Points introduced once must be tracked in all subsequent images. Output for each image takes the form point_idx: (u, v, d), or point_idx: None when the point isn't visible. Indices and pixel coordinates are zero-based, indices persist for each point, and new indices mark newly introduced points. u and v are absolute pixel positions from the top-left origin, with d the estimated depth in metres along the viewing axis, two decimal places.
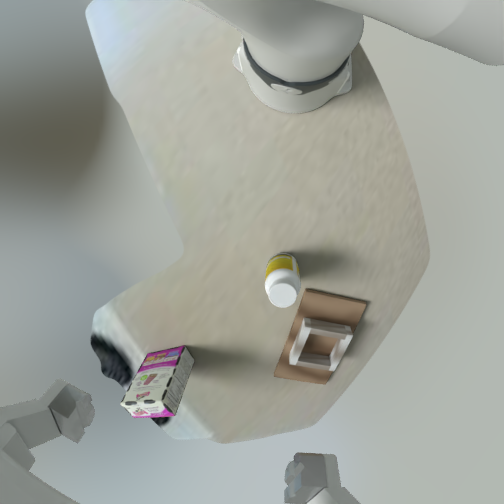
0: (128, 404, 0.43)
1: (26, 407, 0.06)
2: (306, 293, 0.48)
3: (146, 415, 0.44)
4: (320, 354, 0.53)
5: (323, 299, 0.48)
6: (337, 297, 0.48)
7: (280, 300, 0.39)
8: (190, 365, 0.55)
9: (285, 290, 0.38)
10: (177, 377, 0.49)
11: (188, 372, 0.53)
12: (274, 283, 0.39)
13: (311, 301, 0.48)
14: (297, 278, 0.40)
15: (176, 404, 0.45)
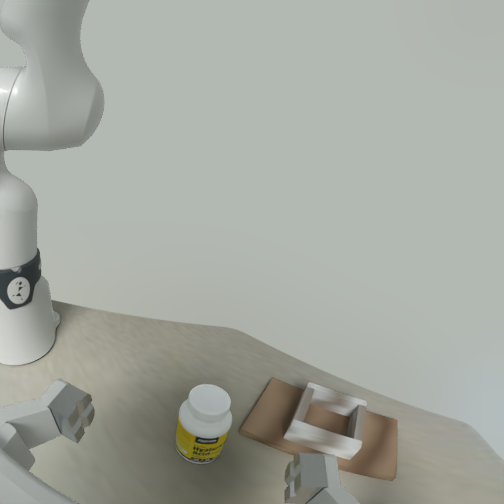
0: None
1: (26, 407, 0.06)
2: (244, 428, 0.29)
3: None
4: (347, 426, 0.32)
5: (257, 413, 0.32)
6: (258, 401, 0.35)
7: (217, 402, 0.23)
8: None
9: (202, 392, 0.23)
10: None
11: None
12: (189, 405, 0.22)
13: (257, 426, 0.30)
14: None
15: None
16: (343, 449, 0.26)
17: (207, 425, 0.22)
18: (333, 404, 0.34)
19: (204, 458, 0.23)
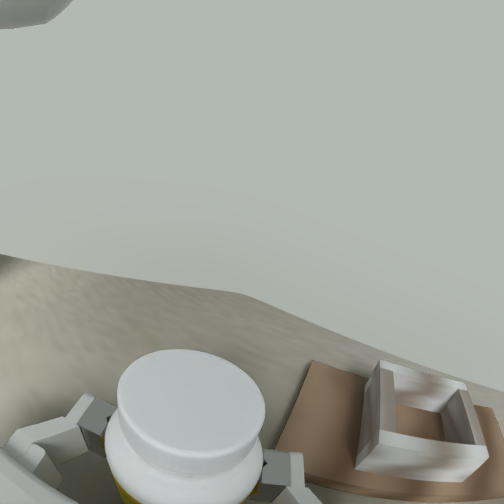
0: None
1: (53, 425, 0.06)
2: None
3: None
4: (442, 427, 0.15)
5: (298, 426, 0.15)
6: (295, 403, 0.18)
7: (219, 409, 0.06)
8: None
9: (167, 374, 0.07)
10: None
11: None
12: (118, 414, 0.06)
13: (303, 451, 0.13)
14: None
15: None
16: (460, 467, 0.09)
17: (185, 484, 0.05)
18: (419, 395, 0.18)
19: None
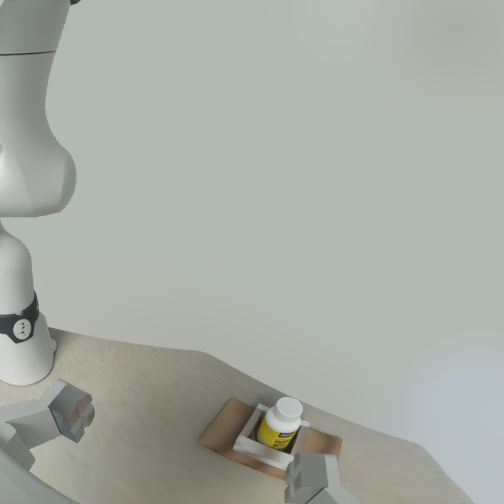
0: None
1: (26, 407, 0.06)
2: (201, 439, 0.35)
3: None
4: (292, 442, 0.38)
5: (213, 428, 0.38)
6: (216, 418, 0.41)
7: (295, 408, 0.34)
8: None
9: (284, 403, 0.35)
10: None
11: None
12: (276, 412, 0.34)
13: (212, 438, 0.36)
14: None
15: None
16: (281, 462, 0.32)
17: (288, 424, 0.33)
18: None
19: (279, 448, 0.34)
